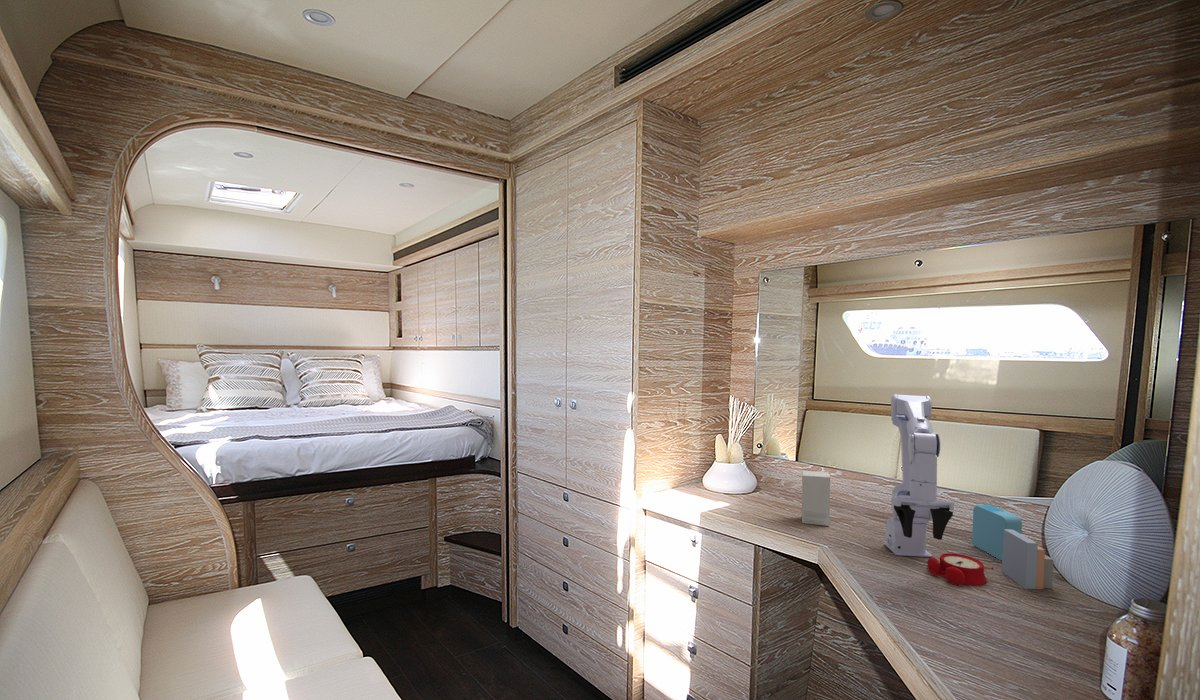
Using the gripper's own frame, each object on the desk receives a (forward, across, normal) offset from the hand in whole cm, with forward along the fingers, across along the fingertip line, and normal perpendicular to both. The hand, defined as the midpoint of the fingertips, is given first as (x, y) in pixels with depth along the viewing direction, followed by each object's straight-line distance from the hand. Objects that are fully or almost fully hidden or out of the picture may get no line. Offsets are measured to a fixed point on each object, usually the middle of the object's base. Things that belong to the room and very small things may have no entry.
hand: (922, 537), depth 134 cm
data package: (+6, +31, +16) cm, 35 cm away
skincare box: (+5, -8, +40) cm, 41 cm away
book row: (+8, +26, -1) cm, 27 cm away
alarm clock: (+10, +10, +2) cm, 14 cm away
